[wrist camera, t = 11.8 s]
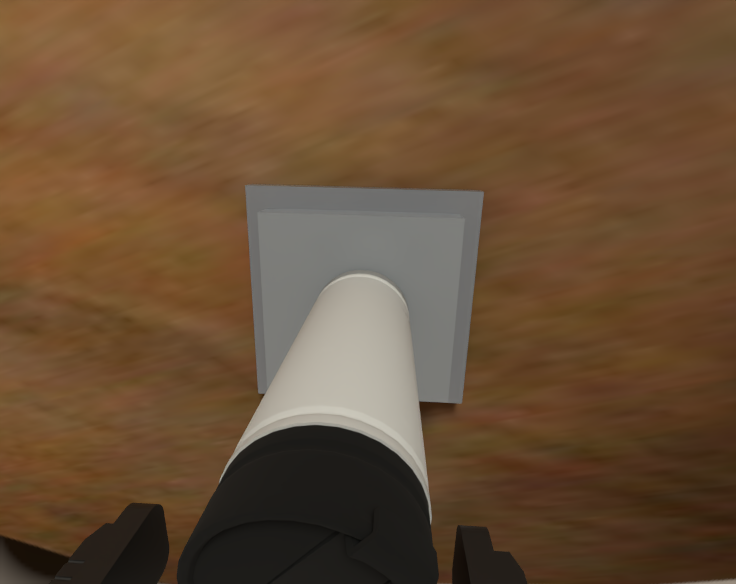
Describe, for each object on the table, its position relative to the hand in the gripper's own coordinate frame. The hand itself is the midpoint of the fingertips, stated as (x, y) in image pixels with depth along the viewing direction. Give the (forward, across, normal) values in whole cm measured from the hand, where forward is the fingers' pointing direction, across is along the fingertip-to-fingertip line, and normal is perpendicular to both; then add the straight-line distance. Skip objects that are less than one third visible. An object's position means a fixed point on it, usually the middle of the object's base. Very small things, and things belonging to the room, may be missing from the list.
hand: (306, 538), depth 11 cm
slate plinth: (+22, 0, 0) cm, 22 cm away
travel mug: (+18, 0, 0) cm, 18 cm away
